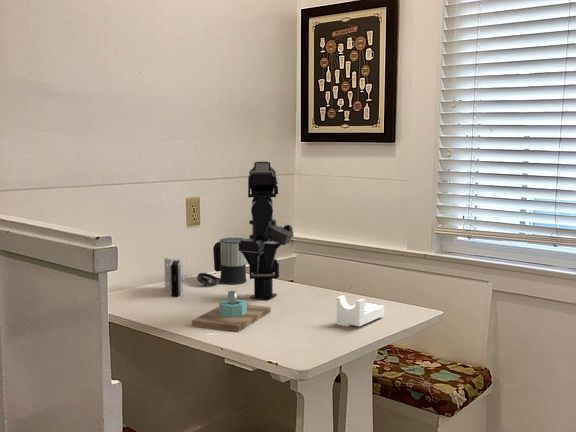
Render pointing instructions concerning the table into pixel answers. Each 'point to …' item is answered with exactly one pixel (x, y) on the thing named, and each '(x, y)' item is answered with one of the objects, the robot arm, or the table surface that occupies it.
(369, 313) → the bracket
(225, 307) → the teal ring
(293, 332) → the table surface
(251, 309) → the walnut base board
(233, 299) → the steel post
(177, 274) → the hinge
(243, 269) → the milk frother
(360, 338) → the table surface
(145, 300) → the table surface
